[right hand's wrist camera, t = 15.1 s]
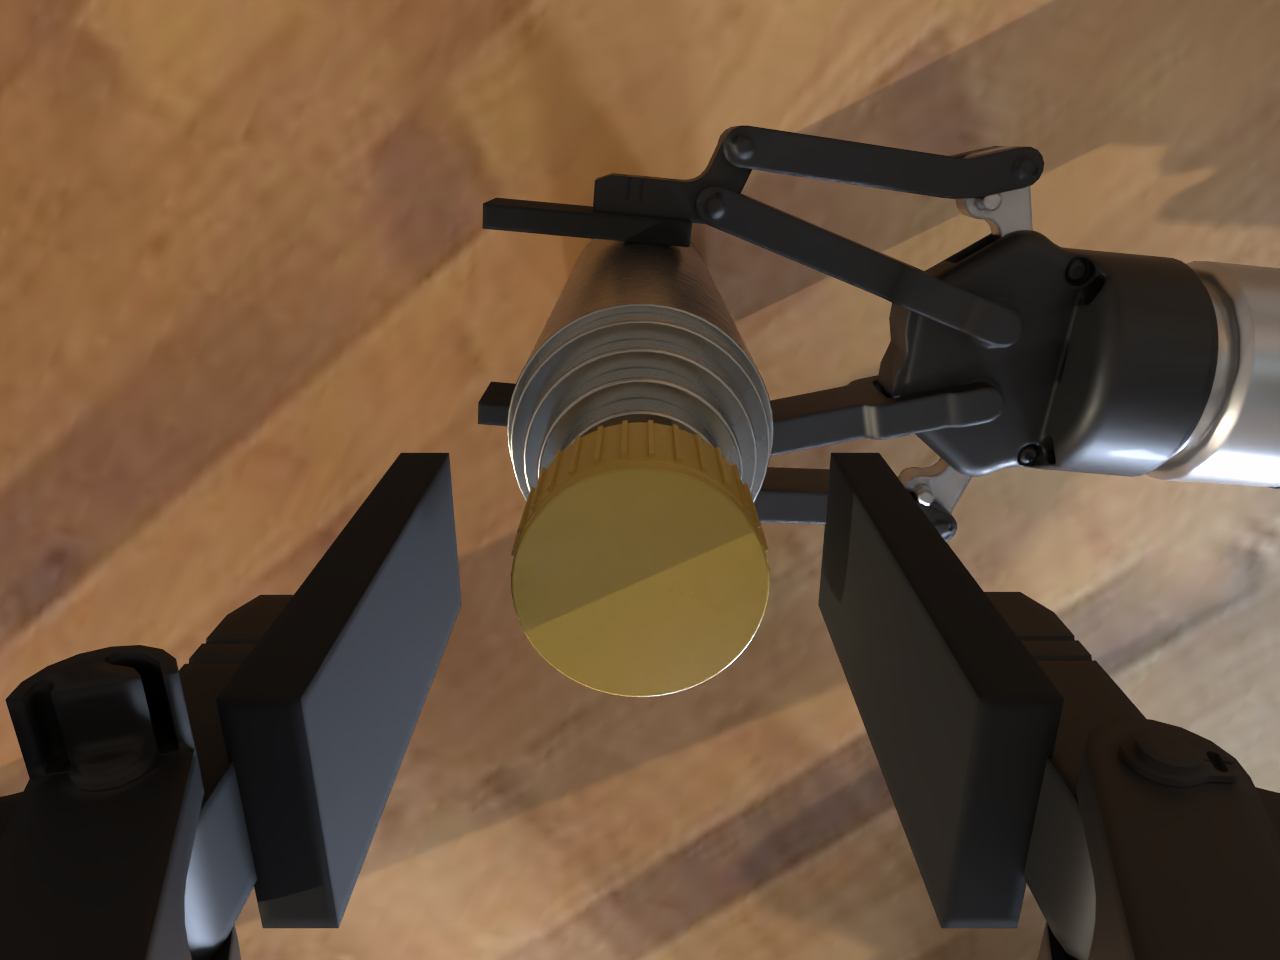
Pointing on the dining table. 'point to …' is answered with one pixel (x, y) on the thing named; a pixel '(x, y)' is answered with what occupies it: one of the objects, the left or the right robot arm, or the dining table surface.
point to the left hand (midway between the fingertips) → (488, 311)
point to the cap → (640, 561)
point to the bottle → (640, 362)
